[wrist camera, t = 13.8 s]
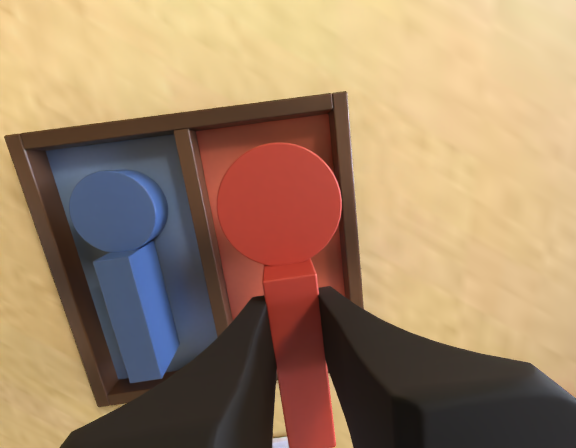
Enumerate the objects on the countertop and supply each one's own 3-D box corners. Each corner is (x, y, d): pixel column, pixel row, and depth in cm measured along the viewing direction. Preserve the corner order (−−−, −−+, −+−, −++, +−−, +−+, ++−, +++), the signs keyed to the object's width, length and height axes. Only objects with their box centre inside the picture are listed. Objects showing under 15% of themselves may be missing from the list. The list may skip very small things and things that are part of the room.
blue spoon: (199, 341, 18) (185, 375, 15) (133, 350, 18) (106, 387, 15) (159, 164, 16) (132, 164, 13) (81, 174, 16) (36, 177, 13)
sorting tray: (358, 346, 20) (368, 367, 18) (115, 382, 19) (97, 408, 17) (338, 99, 16) (347, 90, 14) (37, 138, 16) (2, 135, 14)
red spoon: (349, 381, 13) (370, 442, 11) (259, 395, 13) (256, 460, 10) (326, 138, 11) (345, 129, 8) (215, 153, 11) (194, 149, 8)
